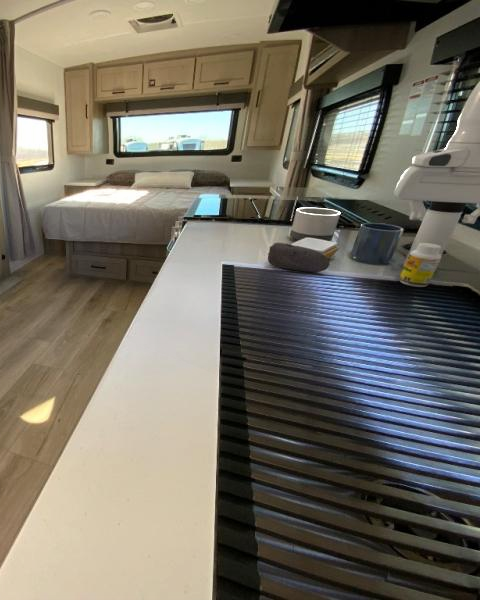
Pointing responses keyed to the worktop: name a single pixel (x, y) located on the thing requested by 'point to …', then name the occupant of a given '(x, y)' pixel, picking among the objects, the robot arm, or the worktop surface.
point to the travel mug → (438, 224)
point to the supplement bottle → (421, 265)
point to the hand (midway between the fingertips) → (439, 221)
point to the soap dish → (318, 246)
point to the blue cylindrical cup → (376, 243)
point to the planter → (314, 223)
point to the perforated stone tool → (297, 258)
